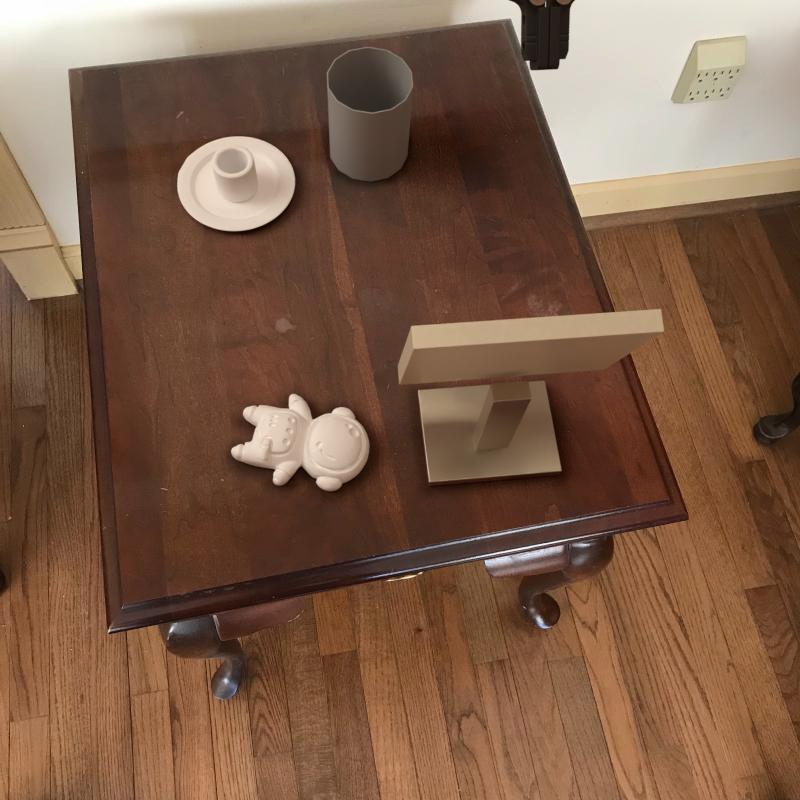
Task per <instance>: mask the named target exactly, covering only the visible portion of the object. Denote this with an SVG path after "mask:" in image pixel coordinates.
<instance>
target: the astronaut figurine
mask: <svg viewBox="0 0 800 800" xmlns="http://www.w3.org/2000/svg"><path fill="white" fill-rule="evenodd" d="M242 416H243V418H244V419H245V421H247V422H248V423H250V424H251V425H253V426H254V427H255V429H254V431H253V434H252V439H251V441H246V442H244V444H243V443H240V444H239V443H238V444H237V445H235V446H233V447H232V448H231V450H230V454H231V456H232V457H233V458H234V459H235V460H236V461H238V462H240V463H241V462H242V463H244V464H247V465H250V466H254V467H258V468H264V469H270V470H271V469H272V470H274V472H273V474H272V477H273V478H272V483H273V484H274V485H275V486H284V485H286V484H287V483H288V482H289V480H290V479H291V478H292V477H293V476H294V475H295V474H296V472H297V471H298V469H299V468H300V467H301V468H303V469H304V471H305V472H306V473H307V474H308V475H309V476H310V477H312V478H313V479H315V480H316V481H315V484H316V485H317V486H318V488H320V490H323V491H326V492H335V491H338V490H339V489H340V488H341V487H342V486H343V484H345V483H347V482H350V481H351V480H352V479H354V478H356V477H357V476H358V475H359V474H360V473H361V471H362V470H363V469H364V467H365V466H366V464H367V462H368V459H369V454H370V440H369V437H368V433H367V431H366V429H365V427H364V426H363V425H362V424H361V423H360V422H359V421H358V419H356V416H355V414H354V412H353V411H352V410H351V409H350V408H348V407H343V406H340V407H336V408H334V409H333V410H332V411H331V413H330V412H329V413H324V414H322V415H319V416H318V417H316V418H314V419H313V416H312V411H311V409H310V407H309V405H308V402H307V401H306V400H304V398H303V397H302V396H300V395H298V394H297V393H291V394H290V395H289V397H288V408H283V407H276V406H272V405H265V404H259V405H258V406H257V405H250V406H246V407H244V409H243V411H242Z"/></svg>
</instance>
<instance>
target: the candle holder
mask: <svg viewBox="0 0 800 800" xmlns="http://www.w3.org/2000/svg"><path fill="white" fill-rule="evenodd" d="M289 160H290V159H288V157H287V156H286V155H285V154H284V153H283V152H282V151H281V150H280V149H278V147H276V146H274V145H273V144H271V143H269V142H267V141H265V140H262V139H260V138H256V137H251V136H244V135H243V136H240V135H239V136H238V135H237V136H235V135H234V136H227V137H221V138H218V139H215V140H212V141H209V142H208V143H205V144H203V145H202V146H200V147H198V148H197V149H195V150H194V151H193V152H192V153H190V154H189V155H188V156H187V157H186V159H185V160H184V162H183V164H182V165H181V167H180V169H179V171H178V173H177V181H176V182H177V183H176V184H177V185H176V187H177V194H178V198H179V200H180V203H181V205H182V206H183V209H184V210H185V211H186V212H187V213H188V214H189V215H190V216H191V218H194V219H195V220H196V221H198V222H199V223H200V224H202V225H205V226H207V227H209V228H212V229H214V230H218V231H219V230H220V231H225V232H242V231H243V232H244V231H250V230H253V229H257V228H259V227H262V226H264V225H267V224H268V223H270V222H272V221H273V220H275V219H276V218H277V217H279V216H280V215H281V214H282V213H283V212H284V211H285V209H286V208H287V207H288V205H289V204H290V202H291V200H292V198H293V196H294V193H295V188H296V175H295V171H294V168H293V166H292V164H291V162H290V161H289Z"/></svg>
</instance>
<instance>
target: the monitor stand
mask: <svg viewBox="0 0 800 800" xmlns="http://www.w3.org/2000/svg"><path fill="white" fill-rule="evenodd" d="M547 390H548V389H547V384H546V381H545V380H533V381H529V380H518V381H517V380H516V381H507V382H506V381H504V382H491V383H490V384H479V385H464V386H451V387H440V388H439V387H437V388H425V389H418V390H417V393H416V397H417V407H418V415H419V421H420V422H419V423H420V432H421V439H422V448H423V455H424V464H425V465H424V466H425V471H426V481H427V486H428V487H435V486H448V485H459V484H472V483H481V482H493V481H495V482H497V481H505V480H506V481H507V480H518V479H530V478H542V477H552V476H553V477H554V476H560V474H561V473H562V471H563V469H562V463H561V459H560V454H559V447H558V443H557V437H556V433H555V426H554V423H553V422H554V421H553V416H552V412H551V405H550V401H549V395H548V391H547Z"/></svg>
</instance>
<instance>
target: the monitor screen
mask: <svg viewBox="0 0 800 800" xmlns="http://www.w3.org/2000/svg"><path fill="white" fill-rule="evenodd" d="M663 319H664V318H663V310H662V309H661V308H654V309H641V310H639V309H638V310H625V311H611V312H610V311H609V312H597V313H596V312H595V313H582V314H581V313H580V314H565V315H551V316H550V315H549V316H536V317H522V318H507V319H493V320H479V321H478V320H477V321H476V320H475V321H465V322H464V321H463V322H451V323H450V322H449V323H434V324H421V325H419V324H417V325H411V326H410V329H409V331H408V335H407V337H406V341H405V344H404V346H403V349H402V351H401V355H400V358H399V361H398V364H397V374H398V385H400V386H403V385H416V384H430V383H431V384H432V383H443V382H457V381H470V380H471V381H472V380H484V379H486V380H487V379H497V378H511V377H524V376H535V375H536V376H538V375H550V374H551V375H554V374H564V373H579V372H592V371H593V372H594V371H605V370H606V369H607V368H610V366H612V365H614V364H615V363H617V362H618V361H620V360H622V359H623V358H625V357H626V356H628V355H630V354H631V353H633V352H634V351H636V350H637V349H639V348H641V347H642V346H645V344H647V343H649V342H650V341H652V340H653V339H655V338H657V337H658V336H660V335H661V334H663V333H665V327H664V326H665V325H664V320H663Z"/></svg>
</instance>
